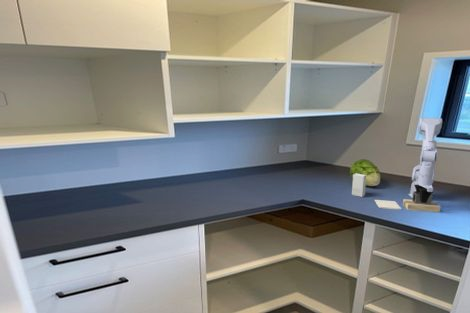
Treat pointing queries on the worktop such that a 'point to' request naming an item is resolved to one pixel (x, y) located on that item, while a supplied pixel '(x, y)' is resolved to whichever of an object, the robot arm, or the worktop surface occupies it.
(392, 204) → the tile
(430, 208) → the body
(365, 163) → the lettuce
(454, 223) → the worktop surface
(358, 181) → the skincare box
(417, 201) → the grey notched block
